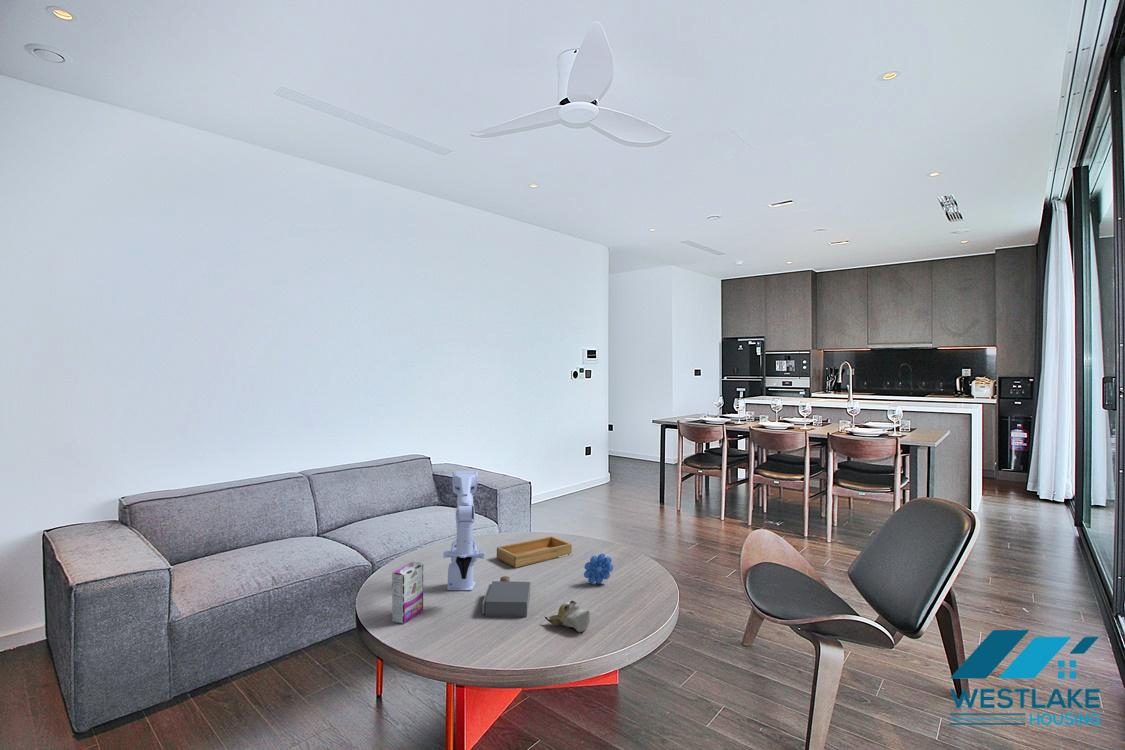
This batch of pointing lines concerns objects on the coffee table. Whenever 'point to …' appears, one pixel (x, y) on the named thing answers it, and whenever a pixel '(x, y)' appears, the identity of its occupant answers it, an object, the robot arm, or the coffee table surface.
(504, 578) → the walnut disc stand
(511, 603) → the player housing
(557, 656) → the coffee table surface
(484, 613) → the tray
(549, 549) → the tray
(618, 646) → the coffee table surface
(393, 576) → the candy bar box
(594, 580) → the blue flower shape
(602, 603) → the coffee table surface
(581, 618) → the ceramic sculpture
